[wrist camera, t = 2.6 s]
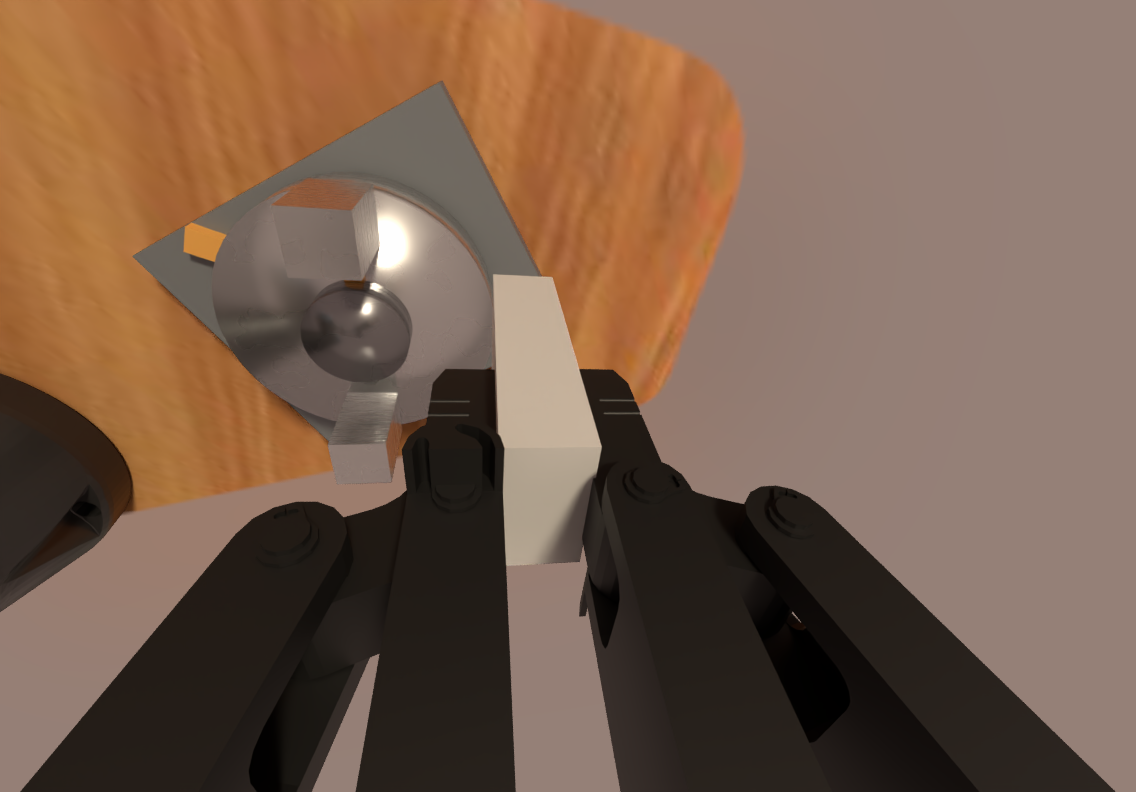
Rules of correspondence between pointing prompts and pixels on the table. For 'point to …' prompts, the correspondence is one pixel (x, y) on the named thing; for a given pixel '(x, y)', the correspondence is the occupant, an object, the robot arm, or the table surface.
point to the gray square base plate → (380, 147)
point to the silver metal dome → (353, 307)
